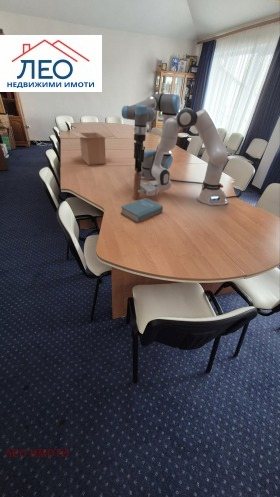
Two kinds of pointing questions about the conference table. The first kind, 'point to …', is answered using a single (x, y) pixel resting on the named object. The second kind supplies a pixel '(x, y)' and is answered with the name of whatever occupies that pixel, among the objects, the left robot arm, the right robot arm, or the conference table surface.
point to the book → (141, 209)
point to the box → (92, 146)
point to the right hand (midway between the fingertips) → (135, 189)
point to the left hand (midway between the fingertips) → (137, 170)
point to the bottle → (137, 185)
